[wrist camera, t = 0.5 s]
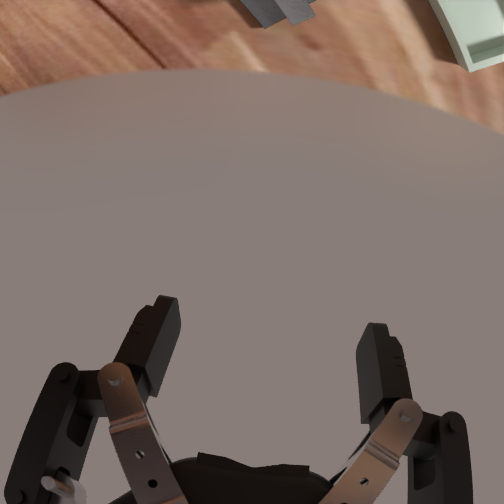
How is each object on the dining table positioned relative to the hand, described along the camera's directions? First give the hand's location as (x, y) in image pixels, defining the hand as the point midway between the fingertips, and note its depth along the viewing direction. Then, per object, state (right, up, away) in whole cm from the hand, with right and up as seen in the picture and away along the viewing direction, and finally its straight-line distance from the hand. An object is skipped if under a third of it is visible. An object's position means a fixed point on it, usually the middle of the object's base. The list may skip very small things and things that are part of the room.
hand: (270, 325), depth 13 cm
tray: (+22, +28, +4) cm, 36 cm away
